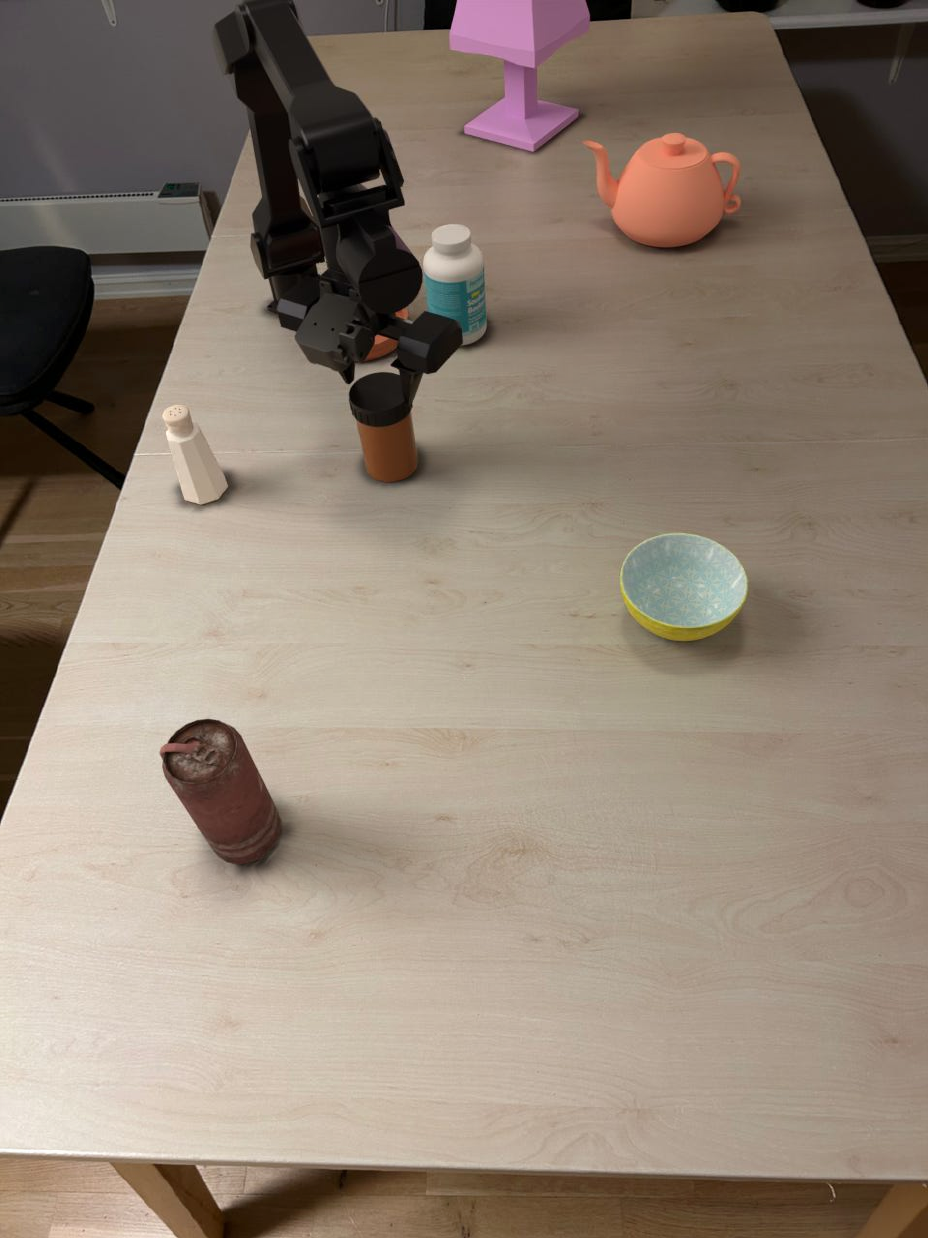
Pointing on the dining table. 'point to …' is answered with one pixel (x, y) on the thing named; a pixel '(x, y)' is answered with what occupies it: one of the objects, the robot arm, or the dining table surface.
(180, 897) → the dining table surface
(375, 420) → the lid
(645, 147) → the teapot
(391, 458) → the jam jar
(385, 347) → the dish
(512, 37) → the pink table lamp
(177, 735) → the can
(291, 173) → the robot arm
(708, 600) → the bowl
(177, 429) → the pepper shaker
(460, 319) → the pill bottle
